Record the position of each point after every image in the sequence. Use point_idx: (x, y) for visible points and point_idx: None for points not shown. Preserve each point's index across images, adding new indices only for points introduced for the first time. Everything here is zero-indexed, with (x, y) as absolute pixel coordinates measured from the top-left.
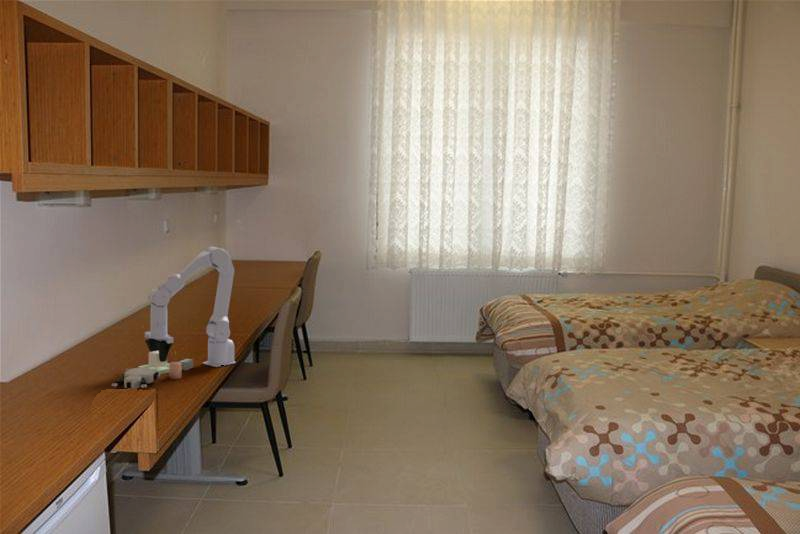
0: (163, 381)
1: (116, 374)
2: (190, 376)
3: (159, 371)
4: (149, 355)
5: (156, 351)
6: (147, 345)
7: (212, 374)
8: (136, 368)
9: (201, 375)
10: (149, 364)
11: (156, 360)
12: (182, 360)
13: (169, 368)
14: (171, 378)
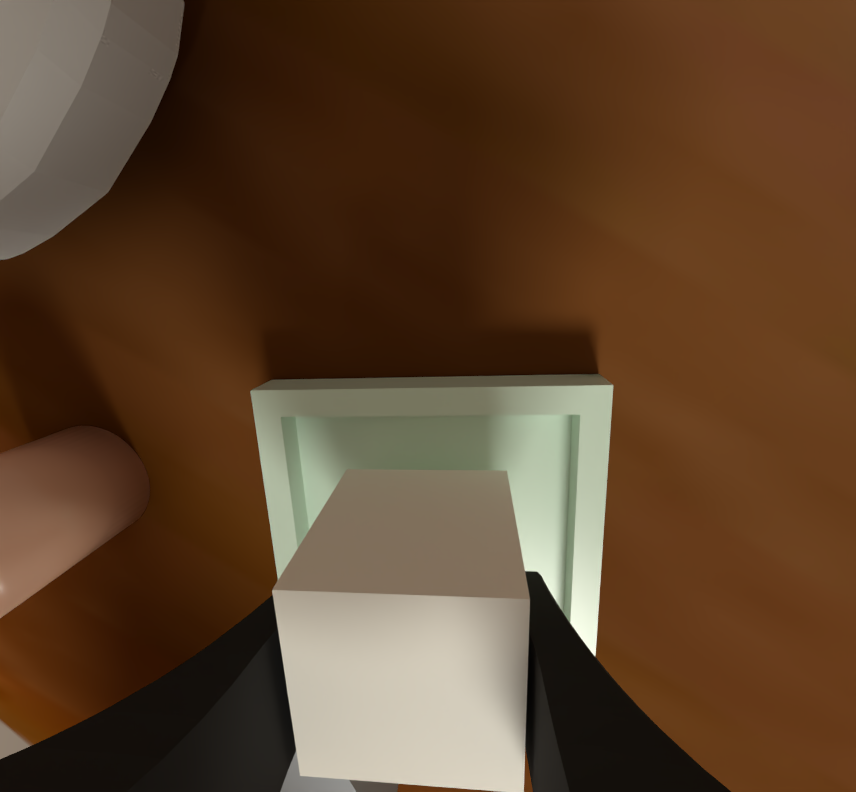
0: (7, 311)
1: (626, 38)
2: (60, 580)
3: (264, 446)
4: (495, 554)
5: (472, 710)
6: (686, 758)
7: (35, 718)
8: (30, 3)
9: (47, 652)
10: (489, 479)
11: (315, 526)
12: (344, 783)
13: (13, 472)
14: (70, 428)
